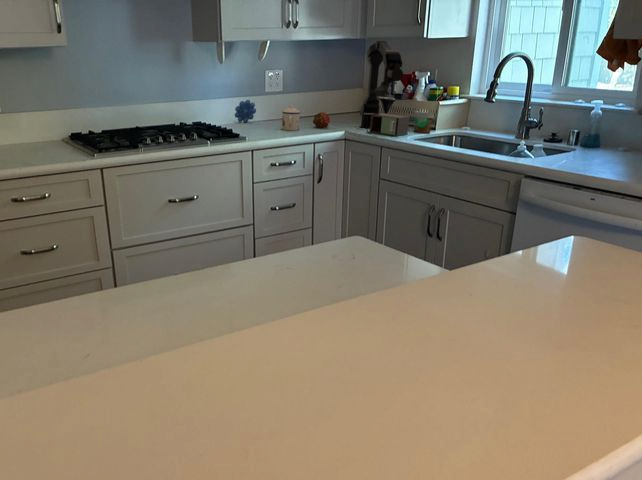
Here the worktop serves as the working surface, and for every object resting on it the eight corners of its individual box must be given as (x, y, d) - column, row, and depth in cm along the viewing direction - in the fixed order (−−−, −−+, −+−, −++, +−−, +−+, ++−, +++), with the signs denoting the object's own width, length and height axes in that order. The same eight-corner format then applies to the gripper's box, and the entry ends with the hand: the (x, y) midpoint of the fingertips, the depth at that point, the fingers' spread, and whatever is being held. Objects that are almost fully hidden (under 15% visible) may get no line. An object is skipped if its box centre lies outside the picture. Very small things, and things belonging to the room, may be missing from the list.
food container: (406, 131, 320) (409, 111, 316) (416, 130, 322) (418, 110, 318) (421, 134, 310) (424, 114, 306) (431, 134, 312) (434, 113, 308)
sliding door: (377, 133, 305) (379, 117, 302) (381, 132, 307) (383, 116, 304) (390, 135, 300) (392, 118, 297) (394, 134, 302) (396, 118, 299)
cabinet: (366, 132, 311) (368, 114, 307) (380, 130, 319) (382, 113, 315) (394, 136, 300) (396, 118, 297) (407, 134, 309) (409, 116, 305)
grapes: (256, 122, 336) (257, 99, 332) (255, 123, 330) (255, 100, 325) (235, 121, 337) (235, 98, 333) (233, 122, 331) (234, 99, 326)
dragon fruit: (318, 132, 318) (320, 132, 330) (332, 122, 316) (333, 123, 327) (309, 117, 317) (311, 118, 329) (323, 108, 315) (325, 109, 326)
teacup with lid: (282, 127, 319) (283, 104, 314) (299, 128, 318) (300, 105, 314) (280, 131, 308) (281, 106, 303) (298, 131, 307) (299, 107, 303)
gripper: (363, 78, 294) (360, 112, 300) (397, 81, 282) (393, 116, 288) (376, 78, 301) (373, 111, 307) (410, 80, 289) (405, 115, 296)
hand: (385, 113), depth 299 cm, fingers closed
